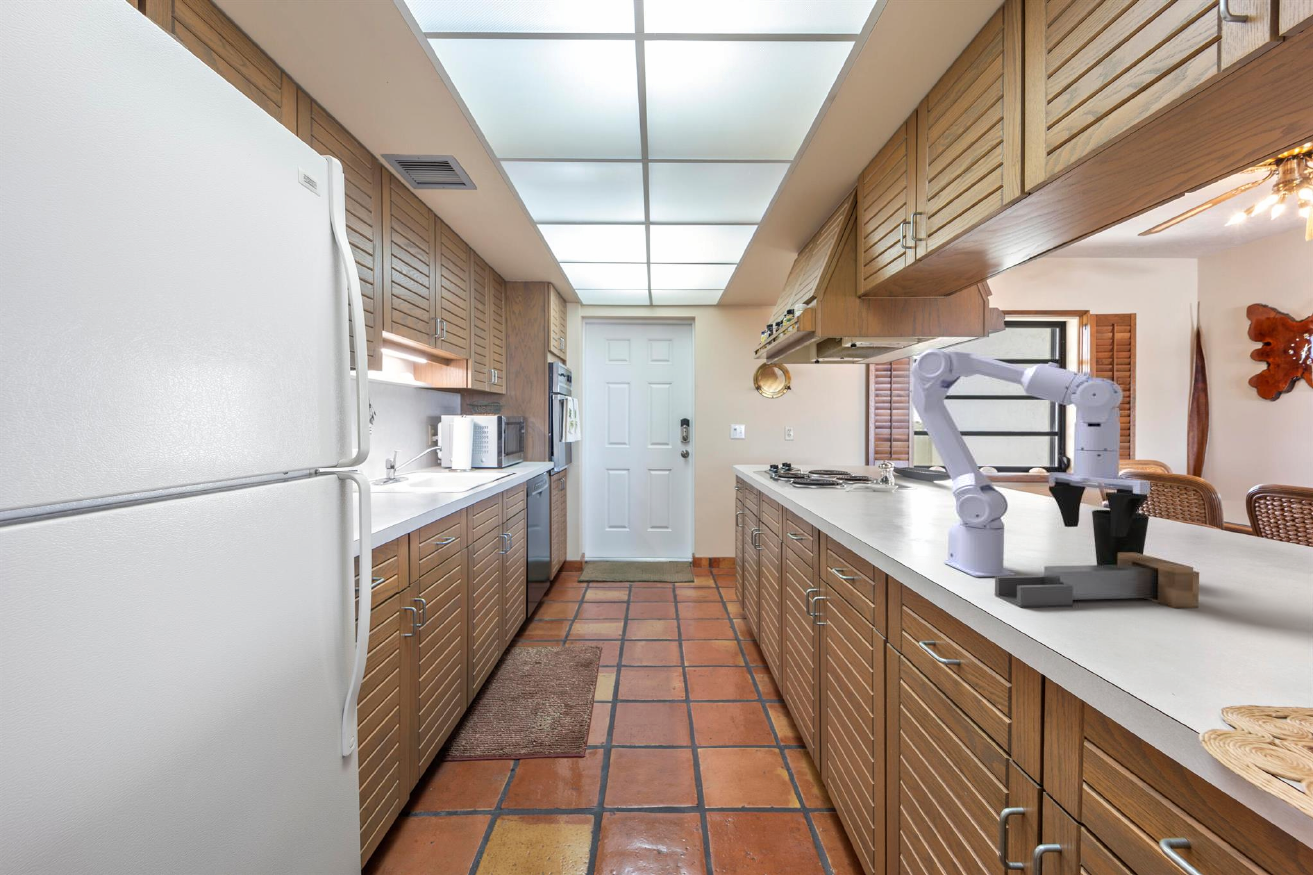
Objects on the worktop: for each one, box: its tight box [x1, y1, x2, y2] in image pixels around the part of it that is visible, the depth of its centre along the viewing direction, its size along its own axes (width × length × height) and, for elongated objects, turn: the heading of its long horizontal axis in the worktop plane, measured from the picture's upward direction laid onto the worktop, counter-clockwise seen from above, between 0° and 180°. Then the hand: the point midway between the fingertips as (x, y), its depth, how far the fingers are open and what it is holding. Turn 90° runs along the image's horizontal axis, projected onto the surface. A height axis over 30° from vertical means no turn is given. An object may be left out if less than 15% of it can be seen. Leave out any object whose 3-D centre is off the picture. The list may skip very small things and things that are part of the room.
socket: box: [1117, 552, 1200, 609], centre depth 82 cm, size 9×4×6 cm, turn 4°
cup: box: [1091, 509, 1150, 565], centre depth 92 cm, size 8×8×12 cm
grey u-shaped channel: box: [994, 574, 1073, 609], centre depth 81 cm, size 5×8×3 cm, turn 94°
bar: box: [1043, 564, 1159, 601], centre depth 81 cm, size 3×18×5 cm, turn 94°
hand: (1093, 531), depth 84 cm, fingers open, 7 cm apart
